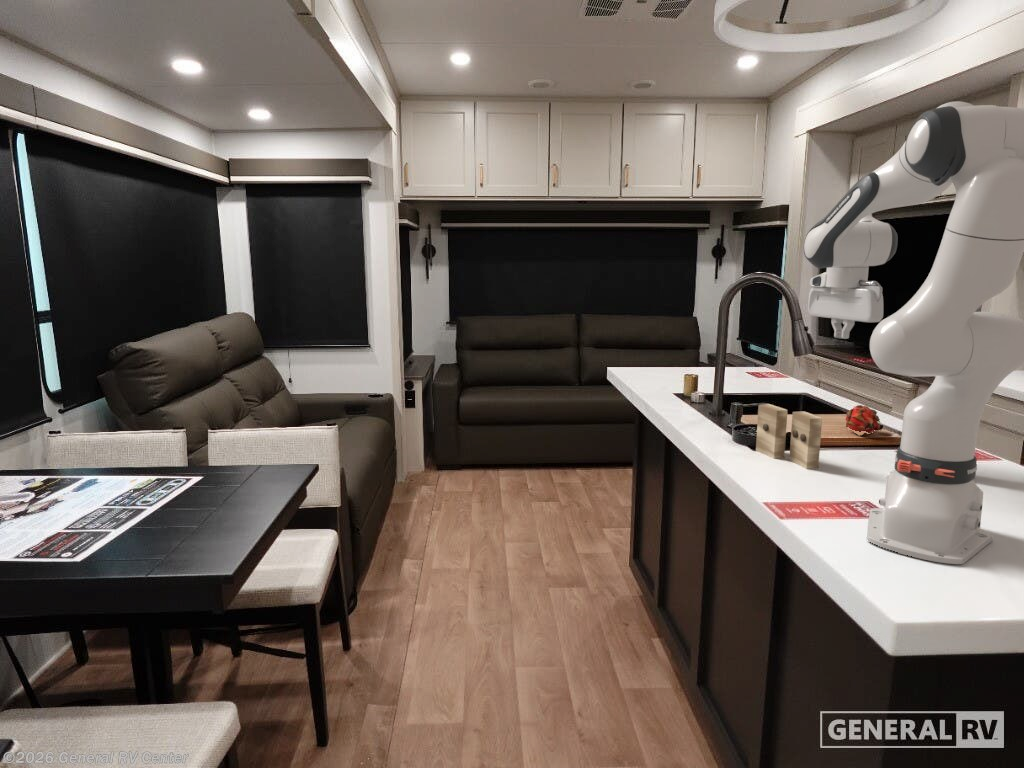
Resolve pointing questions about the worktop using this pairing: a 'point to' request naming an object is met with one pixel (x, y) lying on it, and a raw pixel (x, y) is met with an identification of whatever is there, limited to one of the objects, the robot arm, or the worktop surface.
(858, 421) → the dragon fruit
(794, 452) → the tile two
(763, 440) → the tile one
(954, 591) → the worktop surface
